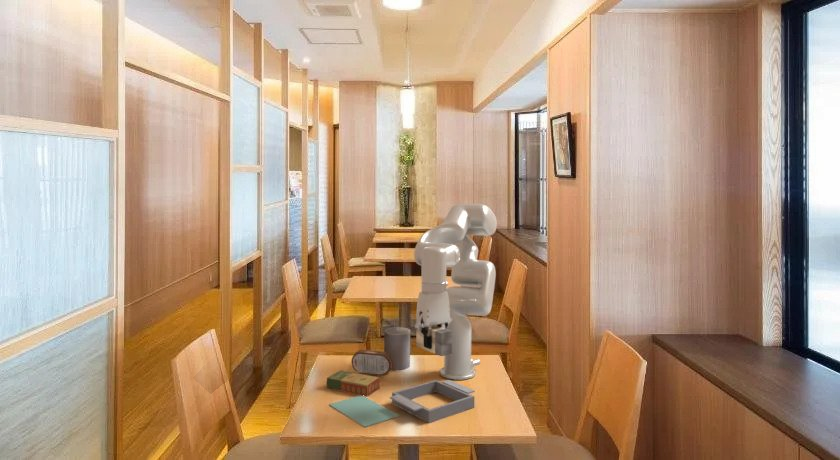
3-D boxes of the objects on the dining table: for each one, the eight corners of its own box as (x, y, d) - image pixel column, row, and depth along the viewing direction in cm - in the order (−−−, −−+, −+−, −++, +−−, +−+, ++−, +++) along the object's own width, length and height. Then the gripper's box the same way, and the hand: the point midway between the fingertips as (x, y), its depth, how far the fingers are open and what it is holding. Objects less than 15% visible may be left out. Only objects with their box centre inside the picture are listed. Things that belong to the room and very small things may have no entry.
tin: (393, 374, 204) (393, 351, 203) (390, 377, 201) (390, 354, 200) (353, 370, 207) (353, 348, 206) (350, 373, 204) (350, 350, 203)
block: (426, 343, 181) (426, 322, 180) (451, 353, 171) (451, 330, 171) (416, 346, 178) (416, 324, 178) (441, 356, 169) (441, 333, 168)
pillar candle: (382, 363, 216) (381, 324, 214) (407, 361, 218) (407, 322, 216) (386, 371, 206) (386, 331, 205) (412, 369, 209) (413, 329, 207)
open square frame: (442, 388, 191) (443, 377, 190) (481, 405, 177) (481, 393, 176) (384, 405, 176) (384, 394, 175) (420, 425, 162) (420, 413, 161)
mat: (361, 395, 184) (361, 394, 183) (399, 416, 168) (399, 415, 168) (329, 405, 176) (329, 404, 176) (364, 427, 160) (364, 426, 160)
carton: (367, 397, 183) (367, 384, 183) (326, 389, 190) (325, 376, 190) (380, 389, 190) (380, 376, 190) (340, 381, 197) (340, 369, 197)
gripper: (446, 282, 181) (446, 338, 183) (404, 289, 170) (404, 348, 172) (462, 285, 175) (462, 343, 177) (420, 293, 165) (420, 355, 167)
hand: (433, 345), depth 175 cm, fingers closed on block, 4 cm apart
